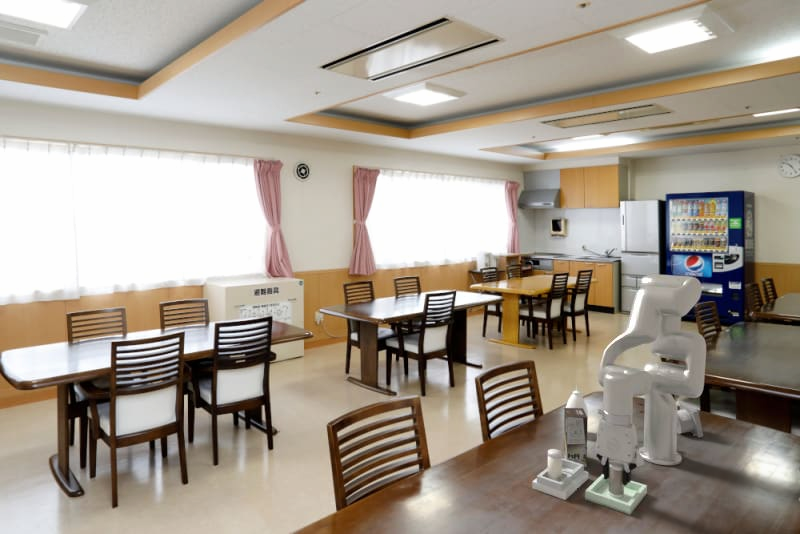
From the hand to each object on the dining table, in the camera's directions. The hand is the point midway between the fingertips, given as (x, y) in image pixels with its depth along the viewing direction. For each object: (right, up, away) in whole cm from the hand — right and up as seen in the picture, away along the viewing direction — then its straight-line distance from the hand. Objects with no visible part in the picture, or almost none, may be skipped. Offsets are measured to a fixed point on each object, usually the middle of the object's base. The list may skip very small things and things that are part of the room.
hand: (616, 480), depth 143 cm
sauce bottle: (+4, -1, +45) cm, 45 cm away
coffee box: (-4, -3, +23) cm, 23 cm away
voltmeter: (+41, -1, +50) cm, 64 cm away
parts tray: (0, -5, 0) cm, 5 cm away
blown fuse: (0, -4, 0) cm, 4 cm away
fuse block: (-13, -4, +8) cm, 16 cm away
